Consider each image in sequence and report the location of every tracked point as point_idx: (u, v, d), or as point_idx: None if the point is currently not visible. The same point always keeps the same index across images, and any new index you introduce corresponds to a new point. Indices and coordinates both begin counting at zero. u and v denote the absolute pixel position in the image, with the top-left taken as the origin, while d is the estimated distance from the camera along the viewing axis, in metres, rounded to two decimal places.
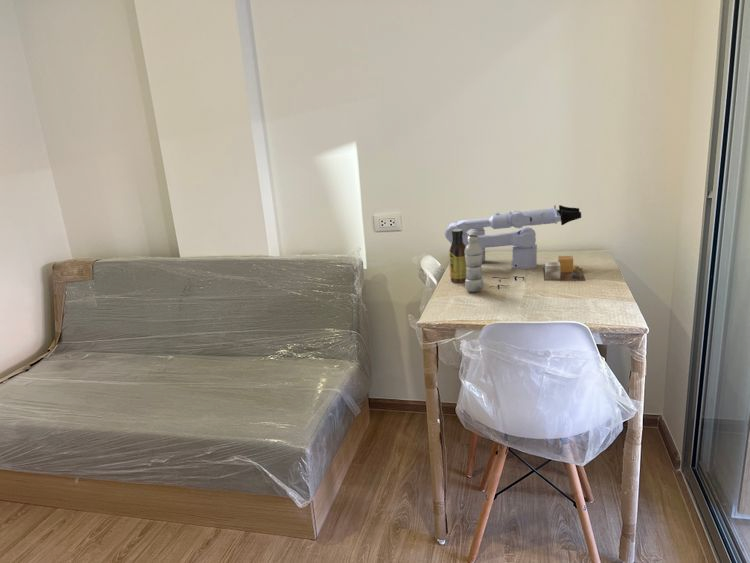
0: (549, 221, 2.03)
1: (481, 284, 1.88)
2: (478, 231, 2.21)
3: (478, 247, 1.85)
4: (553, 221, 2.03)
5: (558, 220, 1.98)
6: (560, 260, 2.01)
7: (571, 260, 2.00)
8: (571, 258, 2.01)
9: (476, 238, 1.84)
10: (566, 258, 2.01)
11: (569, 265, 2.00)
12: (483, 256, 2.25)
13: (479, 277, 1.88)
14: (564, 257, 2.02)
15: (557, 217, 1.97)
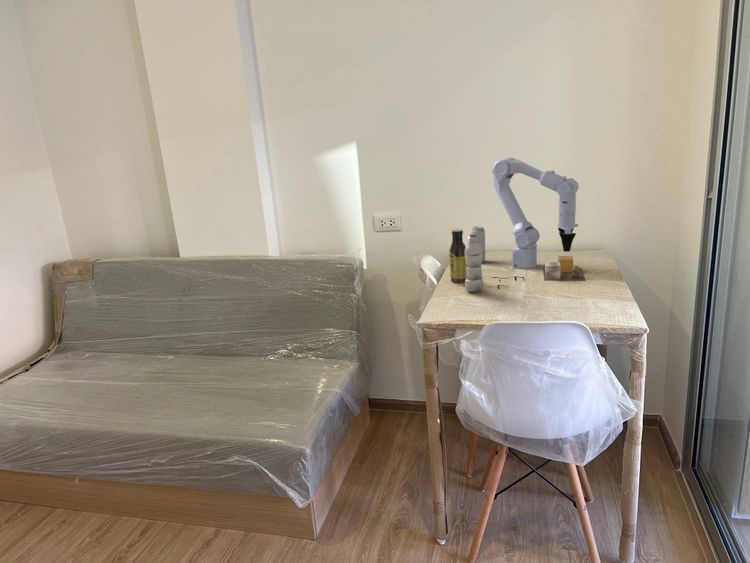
0: (562, 220, 1.96)
1: (481, 284, 1.88)
2: (478, 231, 2.21)
3: (478, 247, 1.85)
4: (562, 224, 1.97)
5: (566, 231, 1.92)
6: (560, 260, 2.01)
7: (571, 260, 2.00)
8: (571, 258, 2.01)
9: (476, 238, 1.84)
10: (566, 258, 2.01)
11: (569, 265, 2.00)
12: (483, 256, 2.25)
13: (479, 277, 1.88)
14: (564, 257, 2.02)
15: (569, 230, 1.92)
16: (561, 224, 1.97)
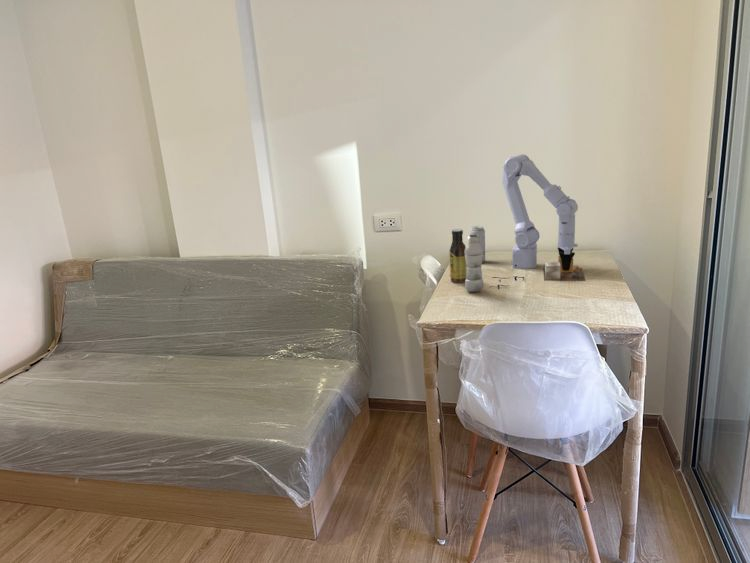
0: (562, 240, 1.98)
1: (481, 284, 1.88)
2: (478, 231, 2.21)
3: (478, 247, 1.85)
4: (561, 244, 1.99)
5: (565, 252, 1.94)
6: (560, 260, 2.01)
7: None
8: None
9: (476, 238, 1.84)
10: None
11: None
12: (483, 256, 2.25)
13: (479, 277, 1.88)
14: None
15: (569, 251, 1.94)
16: (560, 244, 1.99)
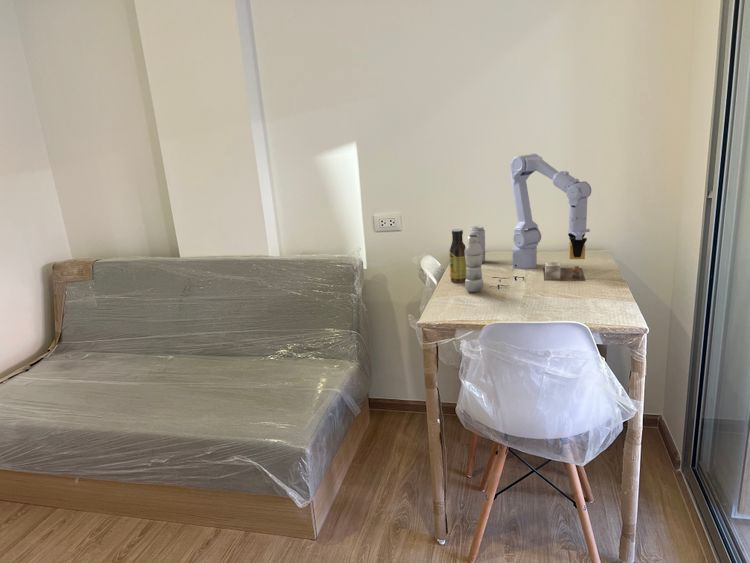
0: (573, 225, 1.87)
1: (481, 284, 1.88)
2: (478, 231, 2.21)
3: (478, 247, 1.85)
4: (572, 229, 1.88)
5: (577, 237, 1.83)
6: (571, 246, 1.89)
7: (583, 246, 1.88)
8: None
9: (476, 238, 1.84)
10: None
11: None
12: (483, 256, 2.25)
13: (479, 277, 1.88)
14: None
15: (581, 236, 1.83)
16: (572, 229, 1.88)
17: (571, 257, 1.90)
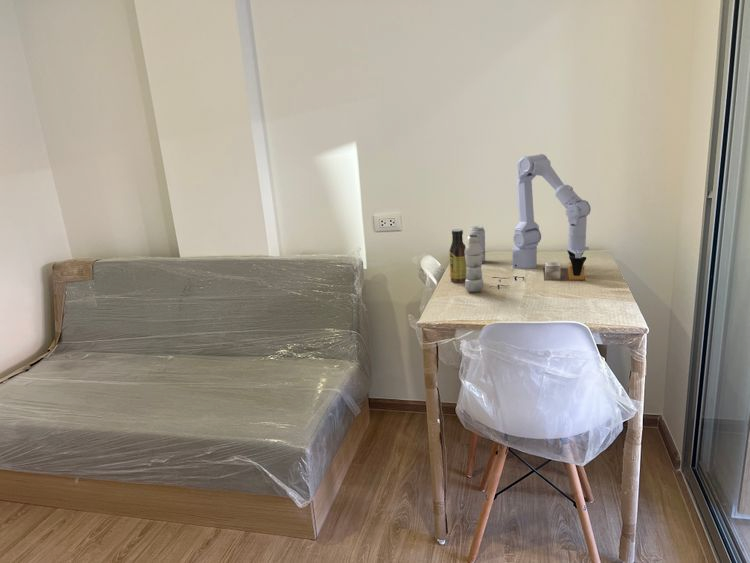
0: (572, 243, 1.89)
1: (481, 284, 1.88)
2: (478, 231, 2.21)
3: (478, 247, 1.85)
4: (572, 247, 1.90)
5: (576, 255, 1.85)
6: (570, 267, 1.91)
7: (582, 267, 1.90)
8: None
9: (476, 238, 1.84)
10: None
11: None
12: (483, 256, 2.25)
13: (479, 277, 1.88)
14: None
15: (580, 254, 1.85)
16: (571, 247, 1.90)
17: (570, 277, 1.93)
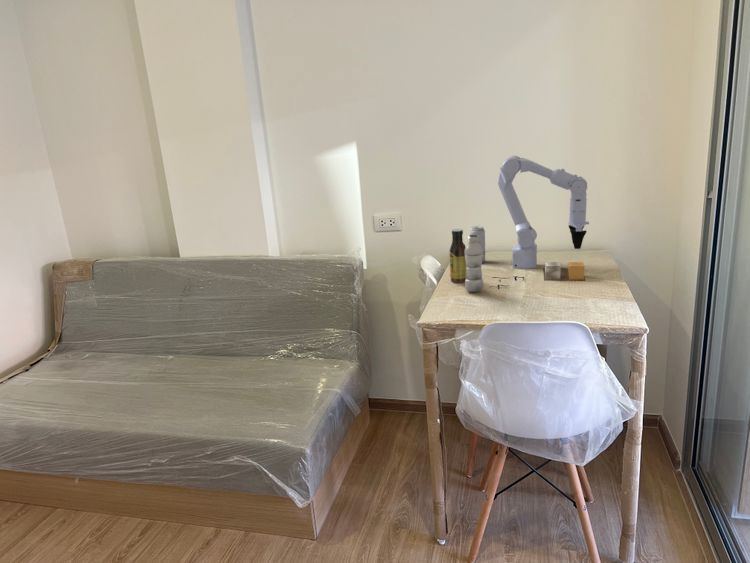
0: (573, 218, 1.99)
1: (481, 284, 1.88)
2: (478, 231, 2.21)
3: (478, 247, 1.85)
4: (572, 222, 1.99)
5: (577, 229, 1.95)
6: (570, 267, 1.91)
7: (582, 267, 1.90)
8: (582, 265, 1.91)
9: (476, 238, 1.84)
10: (576, 265, 1.92)
11: (580, 272, 1.91)
12: (483, 256, 2.25)
13: (479, 277, 1.88)
14: (575, 264, 1.93)
15: (580, 228, 1.95)
16: (572, 222, 2.00)
17: (570, 277, 1.93)
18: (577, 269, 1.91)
